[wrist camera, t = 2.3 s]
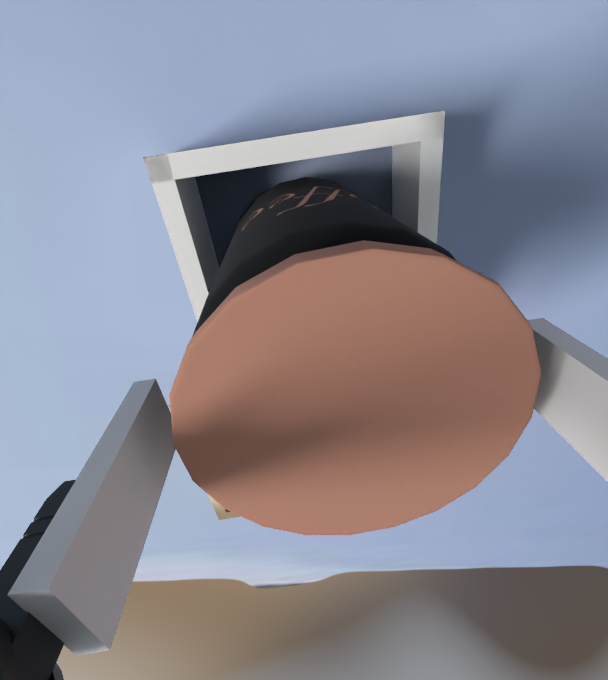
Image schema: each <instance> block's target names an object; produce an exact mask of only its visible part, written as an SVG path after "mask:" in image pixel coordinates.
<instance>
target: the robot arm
mask: <svg viewBox="0 0 608 680" xmlns="http://www.w3.org/2000/svg"><path fill="white" fill-rule="evenodd" d="M527 321H528V322H529V323H530V325H531V327H532V330H533V335H534V340H535V345H536V350H537V354H538V359H539V364H540V369H541V377H540V381H539V386H538V391H537V395H536V400H535V404H534V409H535V410H536V411H537V412H538V413H539V414H540V415H541V416H542V417H543V418H544V419H545V420H546V421H547V422H548V423H549V424H550V425H551V426H552V427H553V428H554V429H555V430H556V431H557V432H558V433H559V434H560V435H561V436H562V437H563V438H564V439H565V440H566V441H567V442H568V443H569V444H570V445H571V446H572V447H573V448H574V449H575V450H576V451H577V452H578V453H579V454H580V455H581V456H582V457H583V458H584V459H585V460H586V461H587V462H588V463H589V464H590V465H591V466H592V467H593V468H594V469H595V470H596V471H597V472H598V473H599V474H600V475H601V476H602V477H603V478H604V479H605V480H606V481H607V482H608V359H607V358H606V357H604V356H602V355H601V354H599V353H598V352H596V351H594V350H593V349H591V348H590V347H588V346H586V345H585V344H583V343H582V342H580V341H578V340H577V339H575V338H574V337H572V336H571V335H569V334H567V333H566V332H564V331H563V330H561V329H559V328H558V327H556V326H555V325H553V324H551V323H550V322H548V321H547V320H545V319H543V318H540V319H533V320H527ZM175 449H176V448H175V446H174V444H173V436H172V422H171V413H170V411H169V408H168V406H167V404H166V402H165V399H164V397H163V395H162V392H161V390H160V388H159V385H158V383H157V381H156V379H151V380H145V381H139V382H134V384H133V385H132V387H131V389H130V390H129V392H128V394H127V395H126V397H125V399H124V400H123V402H122V404H121V405H120V407H119V409H118V410H117V412H116V414H115V415H114V417H113V419H112V420H111V422H110V424H109V425H108V427H107V429H106V430H105V432H104V434H103V435H102V437H101V439H100V440H99V442H98V444H97V446H96V447H95V449H94V451H93V452H92V454H91V456H90V457H89V459H88V461H87V462H86V464H85V466H84V467H83V469H82V471H81V472H80V474H79V476H78V477H77V479H76V480H71V481H65V482H64V483H63V484H62V485H60V486H59V487H58V488H57V489H56V490H55V491H54V492H53V493H52V494H51V495H50V496H49V497H48V498H47V499H46V501H45V502H44V504H43V505H42V507H41V508H40V510H39V512H38V513H37V515H36V516H35V518H34V522H32V523H31V524H30V525H29V527H28V529H27V530H26V532H25V533H24V537H23V539H20V541H19V542H18V544H17V546H16V547H15V549H14V550H13V552H12V553H11V555H10V556H9V558H8V559H7V561H6V562H5V564H4V566H3V567H2V569H1V570H0V680H64V679H63V675H62V671H61V669H60V668H59V666H58V665H57V663H56V662H57V659H58V657H59V654H60V652H61V650H62V647H63V645H65V646H66V647H67V648H68V649H69V650H70V651H72V652H73V653H74V654H75V655H82V654H88V653H95V652H101V651H107V650H110V648H111V645H112V641H113V639H114V636H115V633H116V630H117V627H118V623H119V620H120V617H121V614H122V611H123V608H124V605H125V602H126V599H127V596H128V593H129V590H130V587H131V584H132V581H133V578H134V574H135V571H136V568H137V565H138V562H139V559H140V556H141V553H142V550H143V547H144V544H145V541H146V538H147V535H148V532H149V529H150V525H151V522H152V519H153V516H154V513H155V510H156V507H157V504H158V501H159V498H160V495H161V492H162V489H163V486H164V483H165V480H166V477H167V473H168V470H169V467H170V464H171V461H172V458H173V455H174V452H175Z"/></svg>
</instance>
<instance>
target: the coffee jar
mask: <svg viewBox="0 0 608 680" xmlns="http://www.w3.org/2000/svg"><path fill="white" fill-rule="evenodd" d="M540 377H541V369H540V364H539V359H538V354H537V350H536V345H535V340H534V335H533V330H532V327H531V325H530V323H529V322H528V321H527V319H526V318H525V317H524V315H523V314H522V313H521V312H520V310H519V309H518V308H517V306H516V305H515V304H514V303H513V301H512V300H511V299H510V297H509V296H508V295H507V294H506V292H505V291H504V290H503V288H502V287H501V286H500V285H499V283H497V282H496V281H494V280H492V279H490V278H488V277H486V276H484V275H482V274H480V273H478V272H476V271H475V270H473V269H471V268H469V267H467V266H465V265H463V264H461V263H459V262H457V261H456V260H455V258H454V257H453V256H452V255H451V254H450V252H449V251H447V250H445V249H444V248H442V247H441V246H439V245H437V244H436V243H434V242H432V241H431V240H429V239H428V238H426V237H424V236H423V235H421V234H419V233H418V232H416V231H415V230H413V229H411V228H410V227H408V226H406V225H405V224H403V223H402V222H400V221H398V220H397V219H395V218H394V217H392V216H390V215H389V214H387V213H385V212H384V211H382V210H381V209H379V208H377V207H376V206H374V205H372V204H371V203H369V202H368V201H366V200H364V199H363V198H361V197H359V196H358V195H356V194H355V193H353V192H351V191H349V190H347V189H345V188H343V187H342V186H340V185H338V184H336V183H334V182H332V181H327V180H320V179H313V178H301V179H296V180H292V181H287V182H282V183H279V184H278V185H276V186H274V187H273V188H271V189H269V190H268V191H266V192H264V193H263V194H261V195H259V196H258V197H257V198H256V199H255V200H254V202H253V203H252V204H251V205H250V207H249V208H248V209H247V210H246V211H245V213H244V214H243V215H242V216H241V219H240V221H239V223H238V226H237V228H236V230H235V233H234V235H233V237H232V240H231V242H230V245H229V247H228V249H227V252H226V254H225V256H224V259H223V261H222V263H221V266H220V268H219V271H218V273H217V275H216V278H215V280H214V282H213V285H212V287H211V289H210V292H209V294H208V297H207V299H206V301H205V304H204V307H203V309H202V312H201V315H200V318H199V320H198V323H197V326H196V328H195V331H194V334H193V337H192V339H191V340H190V342H189V344H188V346H187V349H186V351H185V354H184V357H183V359H182V362H181V365H180V368H179V370H178V373H177V376H176V378H175V381H174V384H173V387H172V389H171V392H170V408H171V422H172V436H173V444H174V446H175V448H176V450H177V452H178V454H179V455H180V457H181V459H182V461H183V463H184V465H185V467H186V469H187V470H188V472H189V474H190V476H191V478H192V480H193V481H194V482H195V483H196V484H197V485H198V486H199V487H201V488H202V489H203V490H204V491H205V492H206V493H207V494H209V495H210V496H211V497H212V498H213V499H214V500H215V501H216V502H218V503H219V504H220V505H221V506H222V507H223V508H224V509H227V510H229V511H231V512H233V513H235V514H237V515H240V516H242V517H244V518H246V519H248V520H250V521H252V522H255V523H257V524H259V525H261V526H264V527H269V528H274V529H279V530H283V531H288V532H293V533H298V534H303V535H352V534H358V533H363V532H369V531H374V530H379V529H385V528H390V527H395V526H397V525H400V524H403V523H405V522H408V521H411V520H413V519H416V518H419V517H421V516H424V515H427V514H429V513H432V512H435V511H437V510H439V509H440V508H442V507H444V506H445V505H447V504H448V503H450V502H452V501H453V500H455V499H457V498H458V497H460V496H461V495H463V494H465V493H466V492H468V491H470V490H471V489H473V488H475V487H476V486H477V485H478V484H479V483H480V482H481V481H482V480H483V479H484V478H485V477H486V476H487V475H488V474H489V473H491V472H492V471H493V470H494V469H495V468H496V467H497V466H498V465H499V464H500V463H501V462H502V461H503V460H504V459H505V458H506V457H507V456H508V455H509V454H510V452H511V450H512V449H513V447H514V445H515V444H516V442H517V440H518V439H519V437H520V435H521V434H522V432H523V431H524V429H525V427H526V426H527V424H528V422H529V421H530V419H531V417H532V414H533V409H534V404H535V400H536V395H537V391H538V386H539V381H540Z"/></svg>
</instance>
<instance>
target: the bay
mask: <svg viewBox="0 0 608 680" xmlns="http://www.w3.org/2000/svg"><path fill="white" fill-rule="evenodd" d="M444 122H445V110H444V111H438V112H431V113H425V114H419V115H412V116H406V117H399V118H393V119H387V120H380V121H374V122H367V123H361V124H355V125H348V126H342V127H335V128H329V129H322V130H316V131H310V132H303V133H297V134H290V135H284V136H278V137H271V138H265V139H258V140H252V141H246V142H239V143H233V144H226V145H220V146H214V147H207V148H201V149H194V150H188V151H182V152H175V153H169V154H162V155H156V156H150V157H143V158H144V161H145V164H146V167H147V170H148V173H149V176H150V179H151V182H152V185H153V188H154V191H155V194H156V197H157V200H158V203H159V206H160V209H161V212H162V215H163V218H164V222H165V225H166V228H167V231H168V234H169V237H170V240H171V243H172V246H173V249H174V252H175V255H176V258H177V261H178V264H179V267H180V270H181V273H182V276H183V279H184V282H185V285H186V288H187V291H188V294H189V297H190V300H191V303H192V306H193V309H194V312H195V315H196V318H197V322H198V320H199V318H200V315H201V312H202V309H203V307H204V304H205V301H206V299H207V297H208V294H209V292H210V289H211V287H212V285H213V282H214V280H215V278H216V275H217V273H218V271H219V265H218V261H217V257H216V253H215V250H214V246H213V242H212V239H211V235H210V231H209V227H208V224H207V220H206V216H205V212H204V209H203V205H202V201H201V198H200V194H199V190H198V186H197V183H196V179H195V176H202V175H208V174H215V173H221V172H227V171H234V170H240V169H247V168H253V167H259V166H266V165H272V164H279V163H285V162H291V161H298V160H304V159H311V158H317V157H323V156H330V155H336V154H343V153H349V152H355V151H362V150H368V149H375V148H381V147H387V146H392V217H394V218H395V219H397V220H398V221H400V222H402V223H403V224H405V225H406V226H408V227H410V228H411V229H413V230H415V231H416V232H418V233H419V234H421V235H423V236H424V237H426V238H428V239H429V240H431V241H432V242H434V243H436V244H437V233H438V217H439V201H440V186H441V170H442V154H443V138H444Z"/></svg>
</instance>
